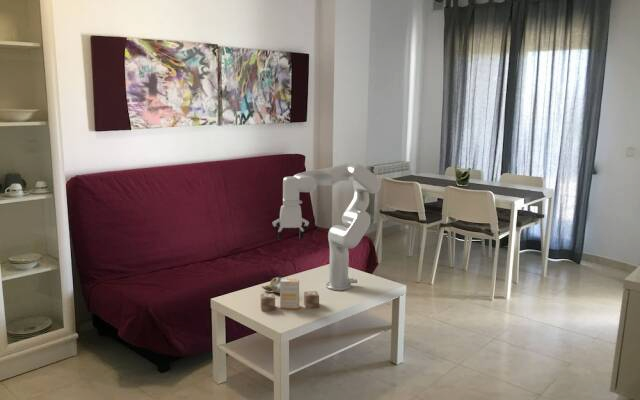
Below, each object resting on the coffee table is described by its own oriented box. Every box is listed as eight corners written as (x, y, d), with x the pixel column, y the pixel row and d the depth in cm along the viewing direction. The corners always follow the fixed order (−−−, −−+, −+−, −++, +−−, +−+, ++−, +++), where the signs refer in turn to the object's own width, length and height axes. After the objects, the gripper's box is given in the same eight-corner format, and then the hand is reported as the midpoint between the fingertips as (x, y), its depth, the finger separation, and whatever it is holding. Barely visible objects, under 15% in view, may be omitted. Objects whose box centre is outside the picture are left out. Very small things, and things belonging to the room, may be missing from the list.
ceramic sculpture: (279, 281, 256) (260, 275, 267) (280, 298, 258) (260, 292, 268) (296, 276, 264) (277, 271, 274) (297, 293, 265) (277, 288, 276)
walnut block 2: (316, 303, 253) (316, 290, 252) (319, 308, 247) (319, 295, 246) (303, 304, 252) (304, 291, 251) (305, 308, 246) (306, 295, 245)
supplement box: (299, 305, 250) (299, 278, 247) (297, 309, 245) (298, 281, 243) (281, 304, 250) (281, 277, 248) (279, 308, 246) (279, 280, 243)
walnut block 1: (273, 305, 249) (273, 292, 248) (275, 310, 244) (275, 297, 242) (260, 306, 248) (260, 293, 247) (261, 311, 242) (261, 298, 241)
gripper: (308, 201, 257) (307, 237, 260) (271, 202, 254) (271, 237, 257) (310, 204, 250) (310, 241, 253) (272, 205, 247) (272, 241, 250)
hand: (290, 239), depth 255 cm, fingers open, 9 cm apart
